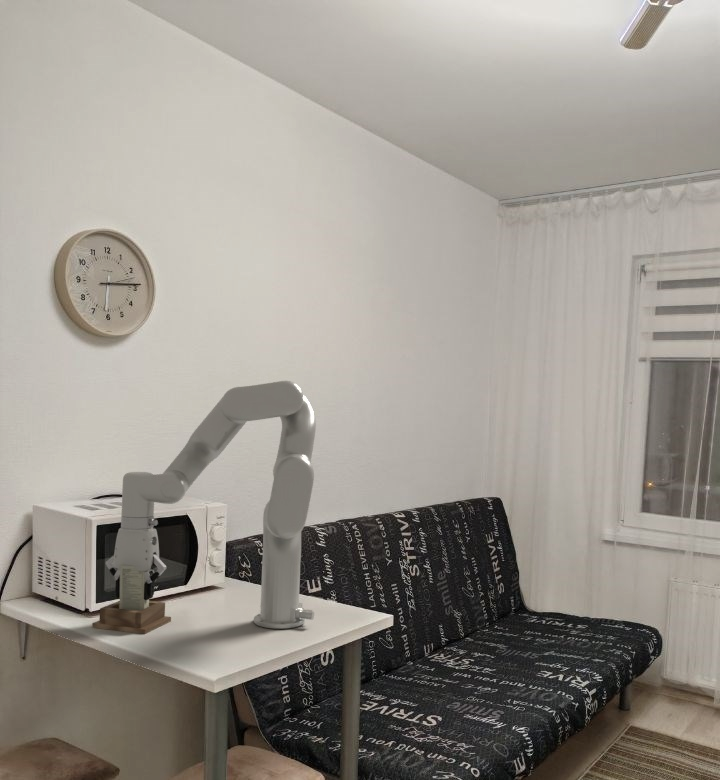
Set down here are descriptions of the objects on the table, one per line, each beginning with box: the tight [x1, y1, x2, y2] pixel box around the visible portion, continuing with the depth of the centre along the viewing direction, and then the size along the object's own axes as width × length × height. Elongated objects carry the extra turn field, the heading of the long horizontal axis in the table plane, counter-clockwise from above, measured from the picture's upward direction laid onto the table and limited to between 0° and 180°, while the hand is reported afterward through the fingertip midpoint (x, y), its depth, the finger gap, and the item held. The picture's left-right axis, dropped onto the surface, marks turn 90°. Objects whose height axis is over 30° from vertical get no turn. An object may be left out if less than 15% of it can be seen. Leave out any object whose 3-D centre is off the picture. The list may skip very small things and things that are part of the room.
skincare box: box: [119, 565, 150, 611], centre depth 187 cm, size 6×4×12 cm
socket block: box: [91, 600, 172, 635], centre depth 187 cm, size 14×12×4 cm
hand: (134, 596), depth 187 cm, fingers closed on skincare box, 6 cm apart
